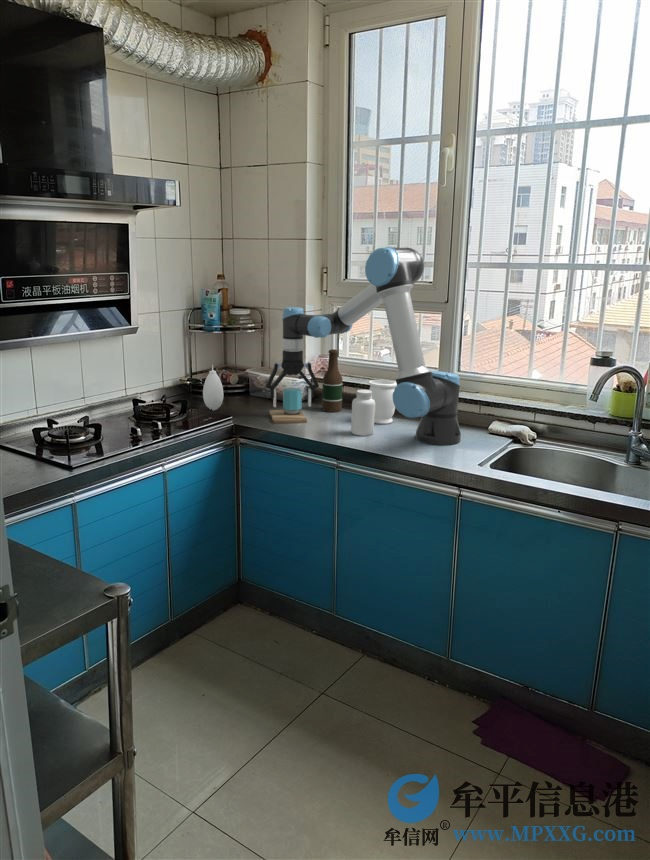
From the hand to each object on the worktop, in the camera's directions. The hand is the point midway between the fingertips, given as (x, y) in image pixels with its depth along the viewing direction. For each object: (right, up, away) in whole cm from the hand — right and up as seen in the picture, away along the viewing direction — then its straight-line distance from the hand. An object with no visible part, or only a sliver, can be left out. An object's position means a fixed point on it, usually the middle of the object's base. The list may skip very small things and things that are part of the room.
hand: (292, 406), depth 251 cm
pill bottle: (+25, -10, -20) cm, 34 cm away
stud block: (-2, -4, -1) cm, 5 cm away
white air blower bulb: (-31, -1, +8) cm, 32 cm away
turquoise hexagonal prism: (0, -1, 0) cm, 1 cm away
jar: (+33, -6, -3) cm, 34 cm away
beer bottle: (+15, -1, +12) cm, 19 cm away
